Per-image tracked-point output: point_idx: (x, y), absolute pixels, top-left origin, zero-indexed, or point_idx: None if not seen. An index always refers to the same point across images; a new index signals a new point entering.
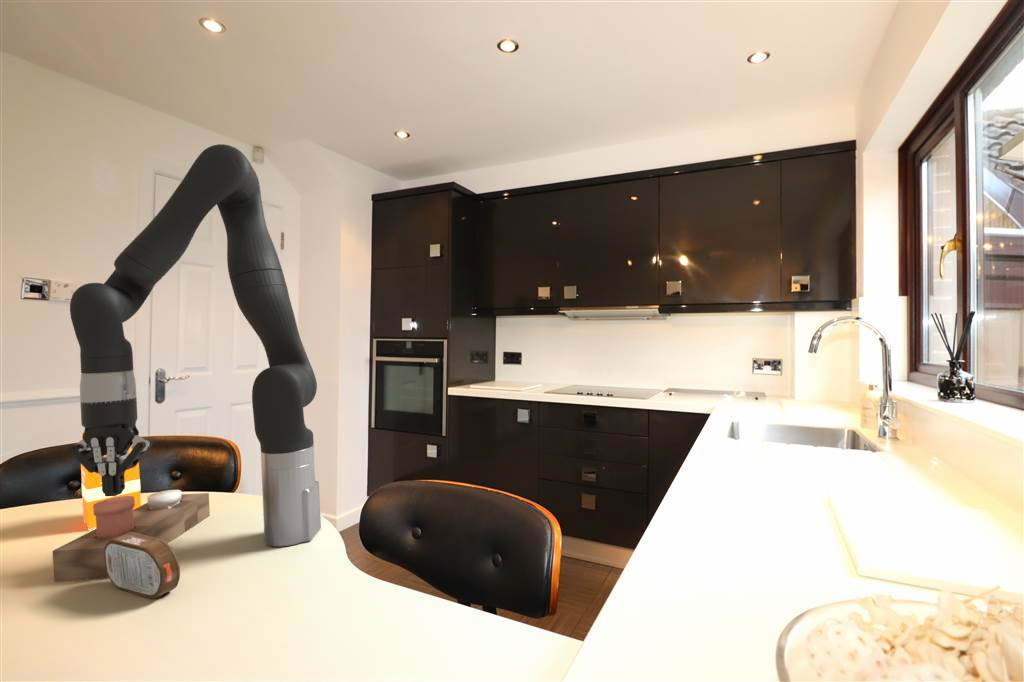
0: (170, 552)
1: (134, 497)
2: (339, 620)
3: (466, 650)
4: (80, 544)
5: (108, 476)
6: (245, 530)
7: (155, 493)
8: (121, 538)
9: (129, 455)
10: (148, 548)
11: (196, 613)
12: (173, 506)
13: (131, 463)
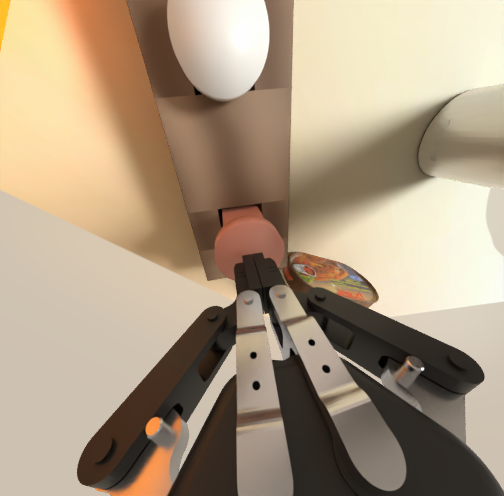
0: (376, 297)
1: (277, 232)
2: (457, 281)
3: (501, 292)
4: None
5: (265, 313)
6: (384, 98)
7: (173, 12)
8: None
9: (360, 361)
10: None
11: (373, 284)
12: None
13: (344, 328)
